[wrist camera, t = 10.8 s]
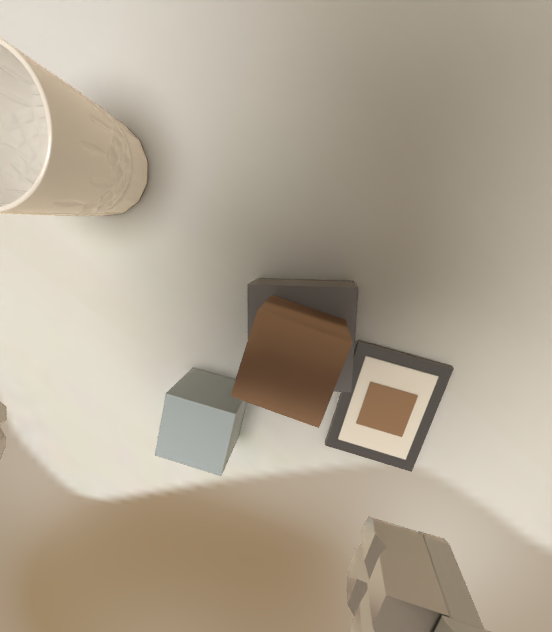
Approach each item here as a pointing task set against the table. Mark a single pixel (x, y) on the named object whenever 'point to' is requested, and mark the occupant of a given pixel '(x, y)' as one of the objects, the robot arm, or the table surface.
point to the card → (388, 405)
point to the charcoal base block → (318, 296)
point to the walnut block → (292, 360)
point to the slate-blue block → (200, 421)
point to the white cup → (61, 147)
